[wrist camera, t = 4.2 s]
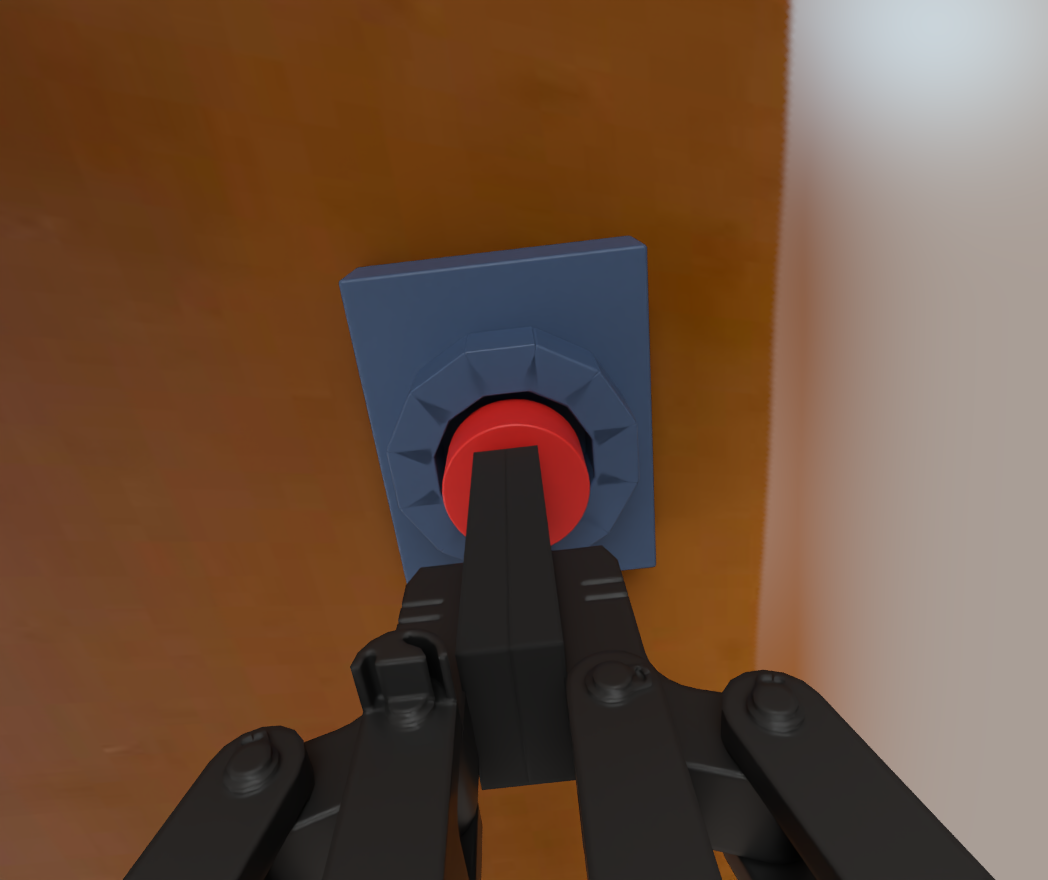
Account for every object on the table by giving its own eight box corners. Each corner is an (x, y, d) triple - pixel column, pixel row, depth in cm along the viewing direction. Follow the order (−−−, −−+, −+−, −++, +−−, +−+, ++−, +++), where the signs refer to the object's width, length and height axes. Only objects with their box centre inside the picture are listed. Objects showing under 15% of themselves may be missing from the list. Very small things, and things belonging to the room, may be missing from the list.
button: (437, 406, 16) (430, 433, 15) (576, 390, 16) (584, 416, 15) (458, 525, 18) (454, 562, 16) (586, 511, 18) (594, 546, 16)
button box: (355, 267, 18) (318, 293, 15) (631, 234, 18) (663, 253, 14) (417, 555, 22) (400, 633, 19) (642, 530, 22) (670, 604, 18)
